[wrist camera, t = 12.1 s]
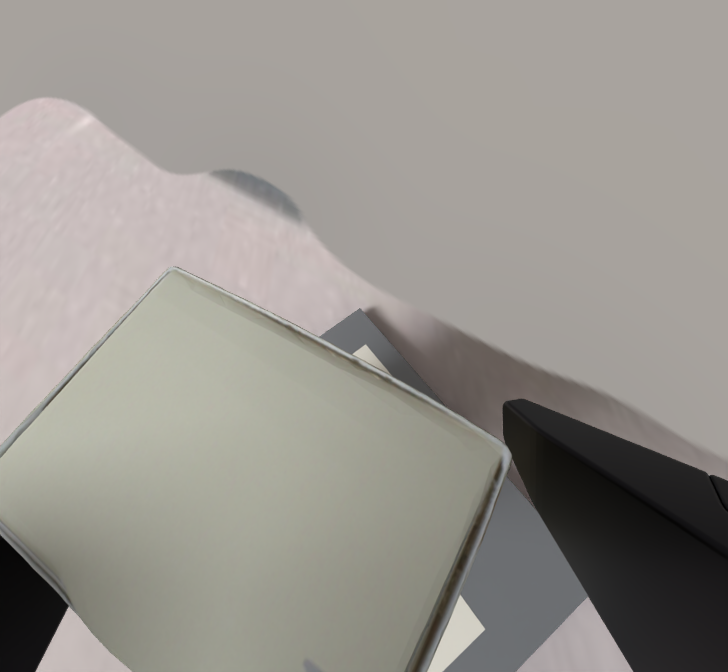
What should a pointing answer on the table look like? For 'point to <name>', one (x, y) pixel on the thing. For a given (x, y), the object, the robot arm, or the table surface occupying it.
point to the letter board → (487, 554)
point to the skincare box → (247, 494)
